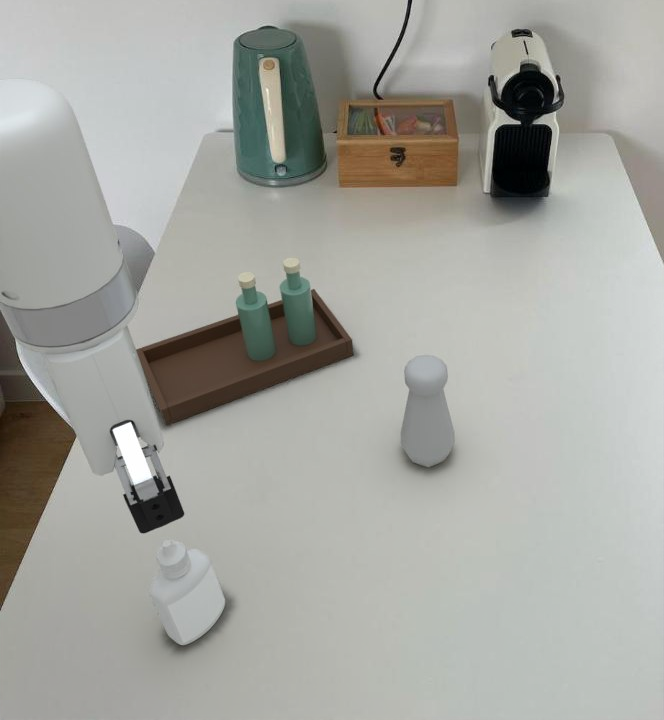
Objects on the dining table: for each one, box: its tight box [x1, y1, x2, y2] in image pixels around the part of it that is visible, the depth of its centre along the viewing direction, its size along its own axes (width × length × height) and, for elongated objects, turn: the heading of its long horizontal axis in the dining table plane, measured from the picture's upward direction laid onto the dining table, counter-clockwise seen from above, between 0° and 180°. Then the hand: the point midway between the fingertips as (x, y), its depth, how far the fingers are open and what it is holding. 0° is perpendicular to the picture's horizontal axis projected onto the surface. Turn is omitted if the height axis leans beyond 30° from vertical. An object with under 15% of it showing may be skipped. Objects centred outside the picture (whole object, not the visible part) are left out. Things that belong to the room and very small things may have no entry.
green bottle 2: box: [279, 257, 317, 346], centre depth 98 cm, size 4×4×11 cm
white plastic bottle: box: [148, 539, 226, 646], centre depth 70 cm, size 4×6×12 cm
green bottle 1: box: [235, 271, 276, 361], centre depth 96 cm, size 4×4×11 cm
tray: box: [136, 288, 355, 426], centre depth 99 cm, size 24×12×3 cm, turn 118°
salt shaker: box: [400, 354, 456, 468], centre depth 83 cm, size 6×6×13 cm
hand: (144, 475), depth 60 cm, fingers open, 9 cm apart
